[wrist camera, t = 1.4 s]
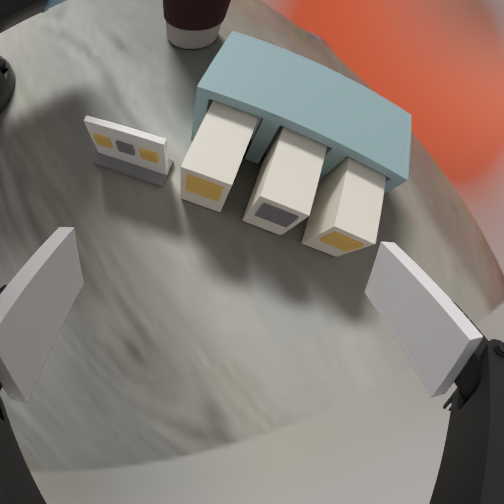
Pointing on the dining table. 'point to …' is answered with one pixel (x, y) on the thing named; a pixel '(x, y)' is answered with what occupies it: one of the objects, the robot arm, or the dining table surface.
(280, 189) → the middle button
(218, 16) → the coffee cup
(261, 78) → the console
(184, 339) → the dining table surface
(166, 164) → the card
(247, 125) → the button
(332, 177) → the button
